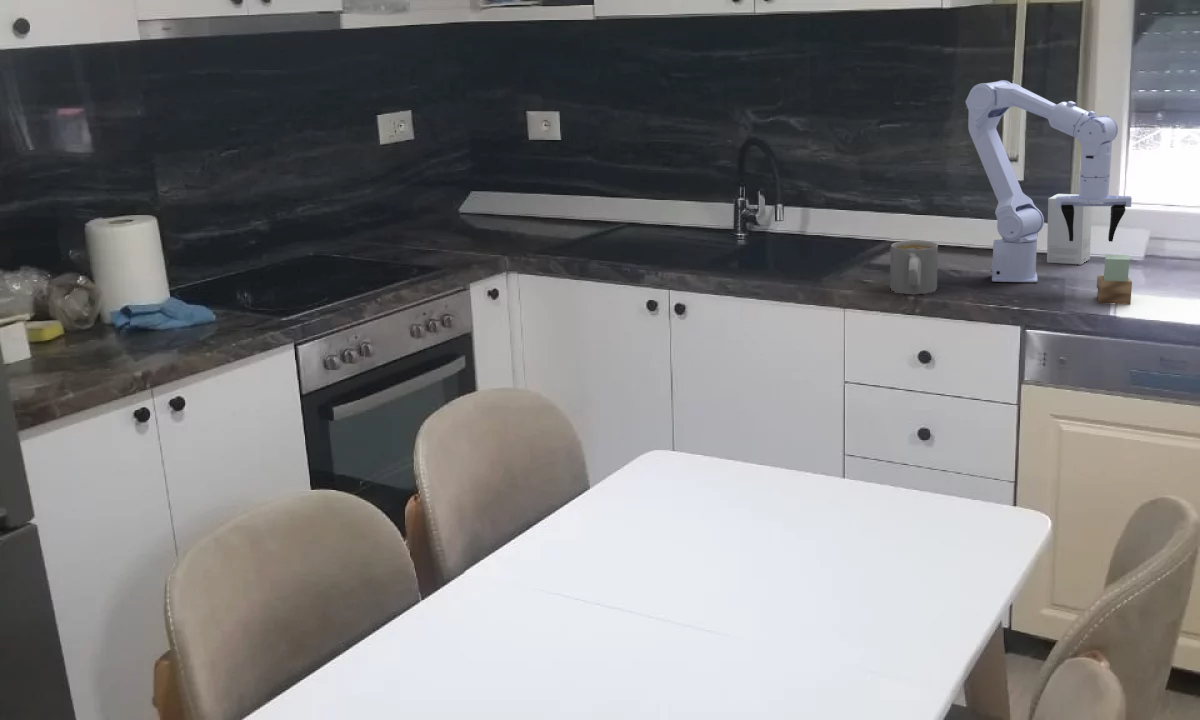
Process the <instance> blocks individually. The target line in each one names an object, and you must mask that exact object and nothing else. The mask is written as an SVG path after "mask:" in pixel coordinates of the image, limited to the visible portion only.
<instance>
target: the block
mask: <svg viewBox="0 0 1200 720" xmlns="http://www.w3.org/2000/svg"><path fill="white" fill-rule="evenodd" d="M1129 268H1130V255H1129V254H1105V256H1104V270H1103V276H1104V281H1125V282H1128V278H1129V270H1130V269H1129Z"/></svg>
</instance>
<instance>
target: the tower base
mask: <svg viewBox="0 0 1200 720" xmlns="http://www.w3.org/2000/svg"><path fill="white" fill-rule="evenodd" d="M1096 295H1097V297H1098V298H1097V304H1101V303H1115V304H1114V305H1131V303H1132V302H1131V301H1132V293H1131V294H1101V292H1100V291H1099V290H1098V289H1097V294H1096Z"/></svg>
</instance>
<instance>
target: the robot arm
mask: <svg viewBox="0 0 1200 720" xmlns="http://www.w3.org/2000/svg"><path fill="white" fill-rule="evenodd" d="M1076 105H1077V102H1074V101H1072V100H1069V101H1061V102H1059V103H1058V104H1056V103H1054V102H1052V101H1050V100H1048V99H1046V98H1044V97H1042V96H1041V95H1039V94H1036V93H1034V92H1032V91H1031V90H1028V89H1026V88H1024V87H1022V86H1021V85H1019V84H1017V83H1014V82H1012V83H1011V82H1010V81H1008V80H1003V79H1001V80H998V81H993V82H992V81H991V82H986V83H985V82H982V83H978V84H976V85H973V87H972V88H971V89H970V91H969V93H968V96H967V97H966V99H965V106H966V108H967V110H968V114H967V115H968V116H967V118H968V127H967V128H968V129H967V130H968V132H969V135H970V138H971V140H972V143H973V145H974V146H975V147H974V148H975V150H976V152H977V154H978V156H979V159H980V161H981V164H982V166H983V169H984V171H985V174H986V175H987V178H988V180H989V184H990V186H991V188H992V190H993V192H994V195H995V197H996V200H997V202H998V203H997V206H996V208H995V212H994V214H995V216H996V221H997V224H996V225H997V226H996V229H997V232H998V234H999V235H1000V237H1001V238H1000V239H993V247H992V250H993V251H992V263H991V265H990V273H991V282H993V283H995V282H996V283H997V282H998V283H999V282H1001V283H1038V272H1036V271H1037V269H1036V268H1037V250H1038V249H1037V248H1038V234H1039V232H1041V230H1042V229H1043V227H1044V225H1045V224H1044V223H1045V218H1044V215H1043V213H1042V211H1041V210H1040V209H1039V208H1038V207H1036V204H1034V202H1033V201H1034V200H1033V199H1032V198H1030V197H1029V196H1028V195H1026V194H1025V193H1024V192H1023V191H1022V188H1021V185H1020V182H1019V181H1018V178H1017V176H1016V173H1015V171H1014V168H1013V166H1012V163H1011V161H1010V159H1009V157H1008V156H1009V155H1008V154H1007V152H1006V149H1005V147H1004V144H1003V141H1002V138H1001V137H1000V134H999V132H998V130H997V126H998V125H999V122H1000V121H1001V118H1002V117H1003V116H1004V114H1005V113H1006V112H1007V111H1008V110H1009V109H1010V108H1013V107H1015V108H1019V109H1021V110H1023V111H1024V110H1025V111H1027V112H1029V113H1032V114H1034V115H1037V116H1038V117H1043V118H1044V119H1047V120H1048V123H1049V126H1050V127H1051V128H1053V129H1055V130H1058V131H1059V132H1062V133H1064V134H1066V135H1068V136H1070V137H1073V138H1075V139H1077V141H1078V143H1079V144H1080V146H1081V154H1080V155H1081V156H1080V169H1079V170H1080V171H1079V173H1080V174H1079V175H1080V176H1079V187H1078V189H1079V190H1078V194H1079V196H1059V197H1056V207H1061V210H1062V213H1063V215H1064V218H1065V220H1066V223H1067V226H1068V231H1069V241H1073V221H1074V206H1092V207H1110V220H1109V222H1110V223H1109V230H1108V239H1107V240H1108V242H1111V243H1112V242H1113V241H1114V240H1113V239H1114V237H1115V233H1116V230H1117V227H1118V225H1119V223H1120V221H1121V220H1122V218H1123V216H1124V214H1125V212H1126V208H1131V207H1132V200H1133V199H1132V196H1130V195H1126V196H1125V195H1109V192H1110V191H1109V190H1110V177H1111V164H1112V163H1111V162H1112V161H1111V160H1112V148H1113V147H1112V145H1113V141H1114V140H1115V139H1116V137H1117V135H1118V133H1119V127H1118V124H1117V122H1116V121H1115V119H1113V118H1112V117H1110V116H1109V115H1106V114H1102V115H1099V116H1098V115H1096V114H1097V112H1095V111H1093V110H1090V111H1089V110H1085V109H1083V108H1081V107H1078V106H1076ZM1083 203H1092V204H1083Z"/></svg>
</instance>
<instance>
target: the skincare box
mask: <svg viewBox="0 0 1200 720" xmlns="http://www.w3.org/2000/svg"><path fill="white" fill-rule="evenodd" d="M1059 196H1079V193H1078V194H1075V193H1073V194H1071V193H1057V194H1055V195H1053V196H1051V197H1048V199H1047V201H1048V202H1047V240H1046V241H1047V247H1046V248H1047V249H1046V251H1047V252H1046V262H1047V263H1049V264H1050V263H1051V264H1052V263H1053V264H1067V265H1077V264H1078V265H1079V266H1080V265H1083V264H1085V263H1086V261H1087V262H1088V261H1090V260H1091V238H1092V237H1091V235H1092V207H1093V206H1074V221H1073V241H1069V231H1068V226H1067V223H1066V220H1065V218H1064V215H1063V213H1062V210H1061V207H1056V197H1059ZM1083 204H1093V203H1083ZM1084 262H1085V263H1084Z"/></svg>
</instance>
